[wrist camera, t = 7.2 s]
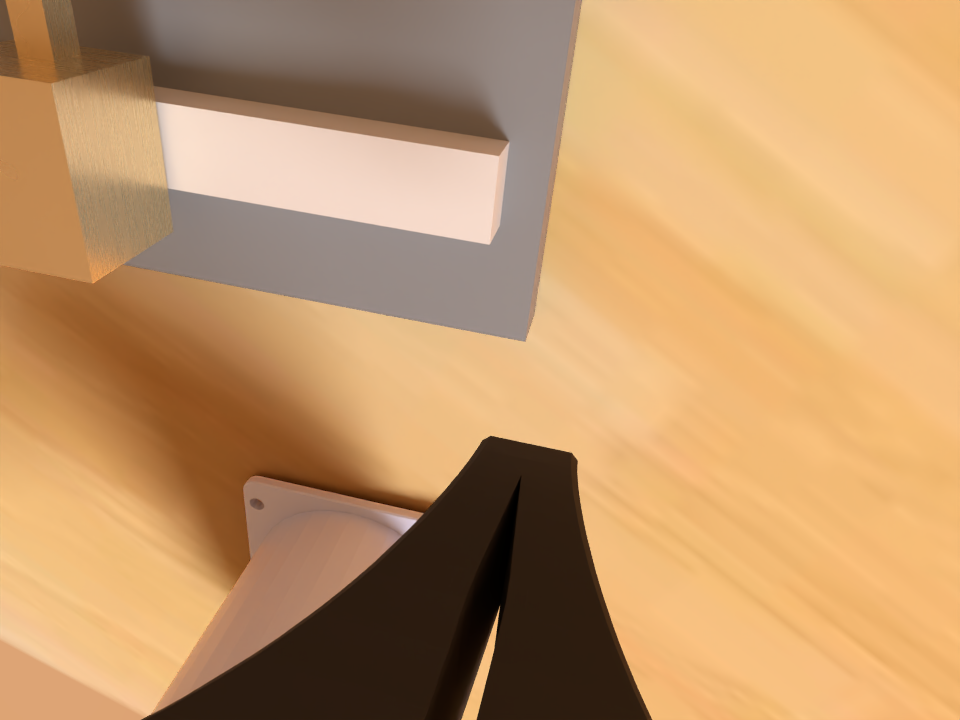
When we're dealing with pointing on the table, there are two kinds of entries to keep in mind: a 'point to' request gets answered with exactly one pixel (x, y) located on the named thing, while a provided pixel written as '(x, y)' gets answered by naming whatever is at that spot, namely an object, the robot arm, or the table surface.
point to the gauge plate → (355, 146)
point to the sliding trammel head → (76, 150)
